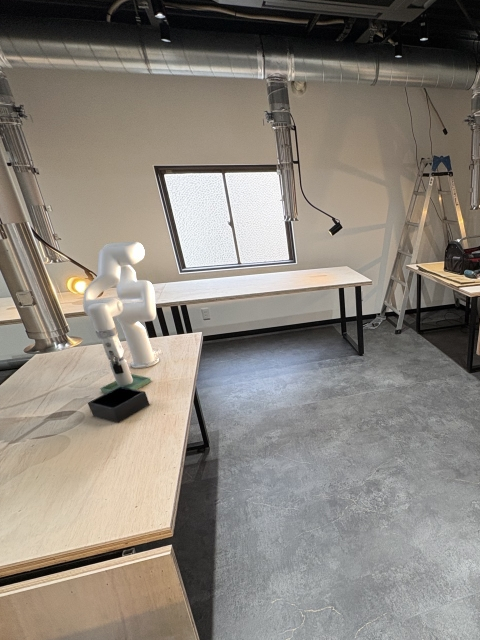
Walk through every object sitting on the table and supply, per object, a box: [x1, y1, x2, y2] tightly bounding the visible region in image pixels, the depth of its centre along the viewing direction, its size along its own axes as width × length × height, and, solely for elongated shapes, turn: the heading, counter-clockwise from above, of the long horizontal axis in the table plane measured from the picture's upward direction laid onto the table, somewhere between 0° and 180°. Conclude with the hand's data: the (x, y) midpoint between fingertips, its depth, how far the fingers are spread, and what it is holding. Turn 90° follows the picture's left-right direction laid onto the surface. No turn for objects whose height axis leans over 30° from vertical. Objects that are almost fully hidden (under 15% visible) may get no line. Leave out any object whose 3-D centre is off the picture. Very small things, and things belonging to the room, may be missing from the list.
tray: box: [99, 373, 152, 394], centre depth 188 cm, size 15×13×2 cm
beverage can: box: [109, 357, 133, 386], centre depth 184 cm, size 6×6×12 cm
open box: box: [87, 386, 151, 424], centre depth 168 cm, size 15×15×6 cm
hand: (120, 369), depth 184 cm, fingers closed on beverage can, 6 cm apart
